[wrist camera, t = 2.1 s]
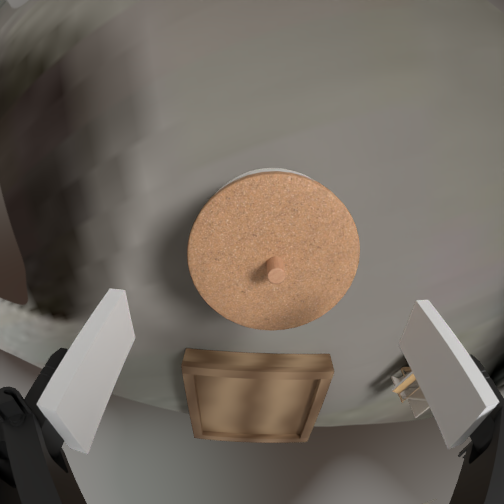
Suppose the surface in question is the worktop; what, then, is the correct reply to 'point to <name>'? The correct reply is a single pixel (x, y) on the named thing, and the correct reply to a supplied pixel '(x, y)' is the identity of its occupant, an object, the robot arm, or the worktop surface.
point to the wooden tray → (255, 394)
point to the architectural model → (410, 391)
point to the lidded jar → (273, 250)
